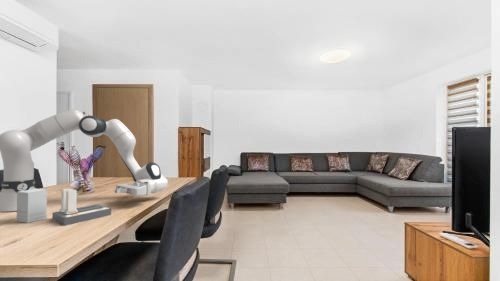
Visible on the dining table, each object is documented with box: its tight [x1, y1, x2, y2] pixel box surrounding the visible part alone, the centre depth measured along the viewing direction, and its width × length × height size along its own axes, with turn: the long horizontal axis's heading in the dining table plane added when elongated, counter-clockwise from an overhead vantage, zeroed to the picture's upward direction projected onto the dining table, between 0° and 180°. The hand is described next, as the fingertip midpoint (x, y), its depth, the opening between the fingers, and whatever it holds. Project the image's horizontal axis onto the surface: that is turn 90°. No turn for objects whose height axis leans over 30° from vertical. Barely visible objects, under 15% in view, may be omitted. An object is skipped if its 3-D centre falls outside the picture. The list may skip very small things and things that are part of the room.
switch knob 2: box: [64, 189, 78, 214], centre depth 102 cm, size 2×4×10 cm, turn 146°
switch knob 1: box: [59, 188, 73, 212], centre depth 105 cm, size 2×4×10 cm, turn 146°
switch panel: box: [51, 203, 112, 226], centre depth 107 cm, size 13×18×3 cm
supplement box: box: [16, 188, 48, 224], centre depth 103 cm, size 7×7×13 cm
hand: (115, 191), depth 123 cm, fingers closed
